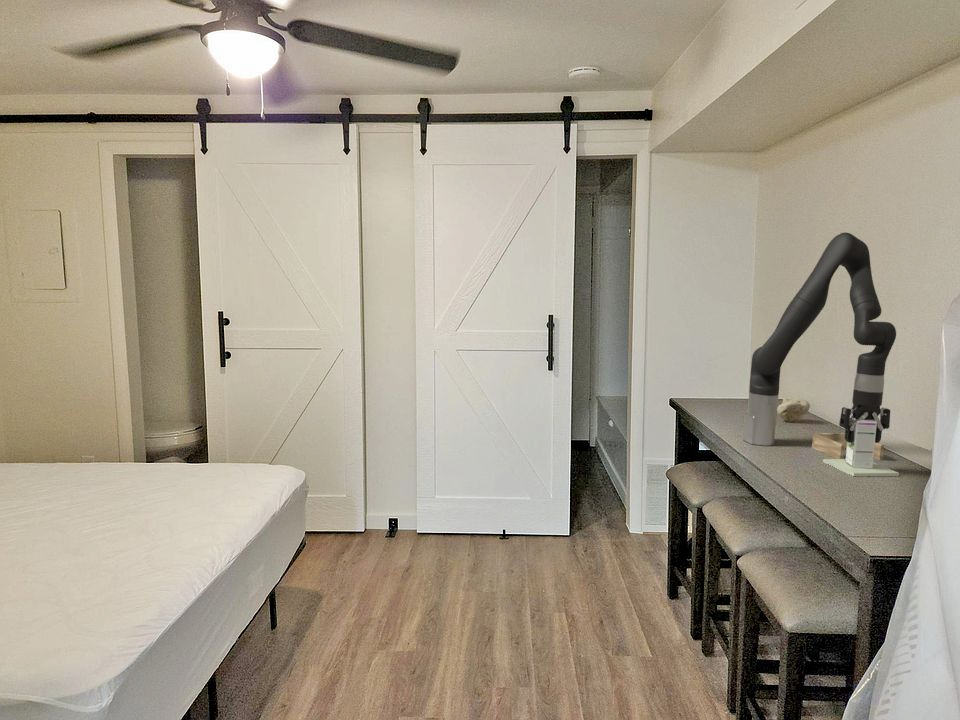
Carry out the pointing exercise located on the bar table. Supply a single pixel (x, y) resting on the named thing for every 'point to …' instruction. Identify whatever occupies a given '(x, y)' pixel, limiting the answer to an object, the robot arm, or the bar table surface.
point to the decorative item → (793, 409)
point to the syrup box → (862, 445)
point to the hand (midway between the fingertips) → (862, 442)
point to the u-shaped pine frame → (838, 445)
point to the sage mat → (860, 469)
